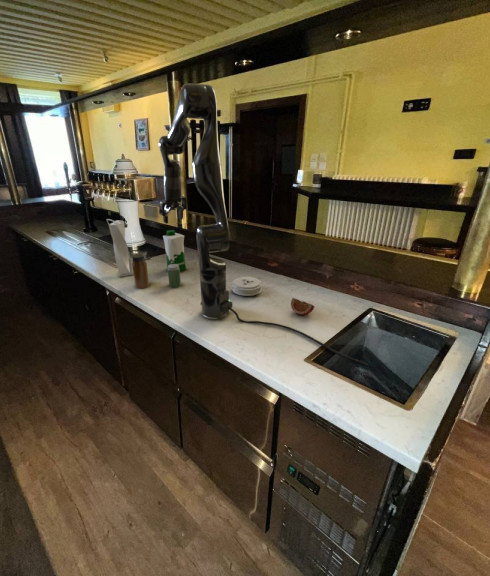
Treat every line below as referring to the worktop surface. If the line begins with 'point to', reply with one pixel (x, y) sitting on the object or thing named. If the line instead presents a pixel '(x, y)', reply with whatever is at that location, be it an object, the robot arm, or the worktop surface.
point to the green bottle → (174, 275)
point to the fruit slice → (301, 307)
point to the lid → (247, 286)
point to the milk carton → (174, 249)
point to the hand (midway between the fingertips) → (173, 220)
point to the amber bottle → (140, 271)
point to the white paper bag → (121, 248)
